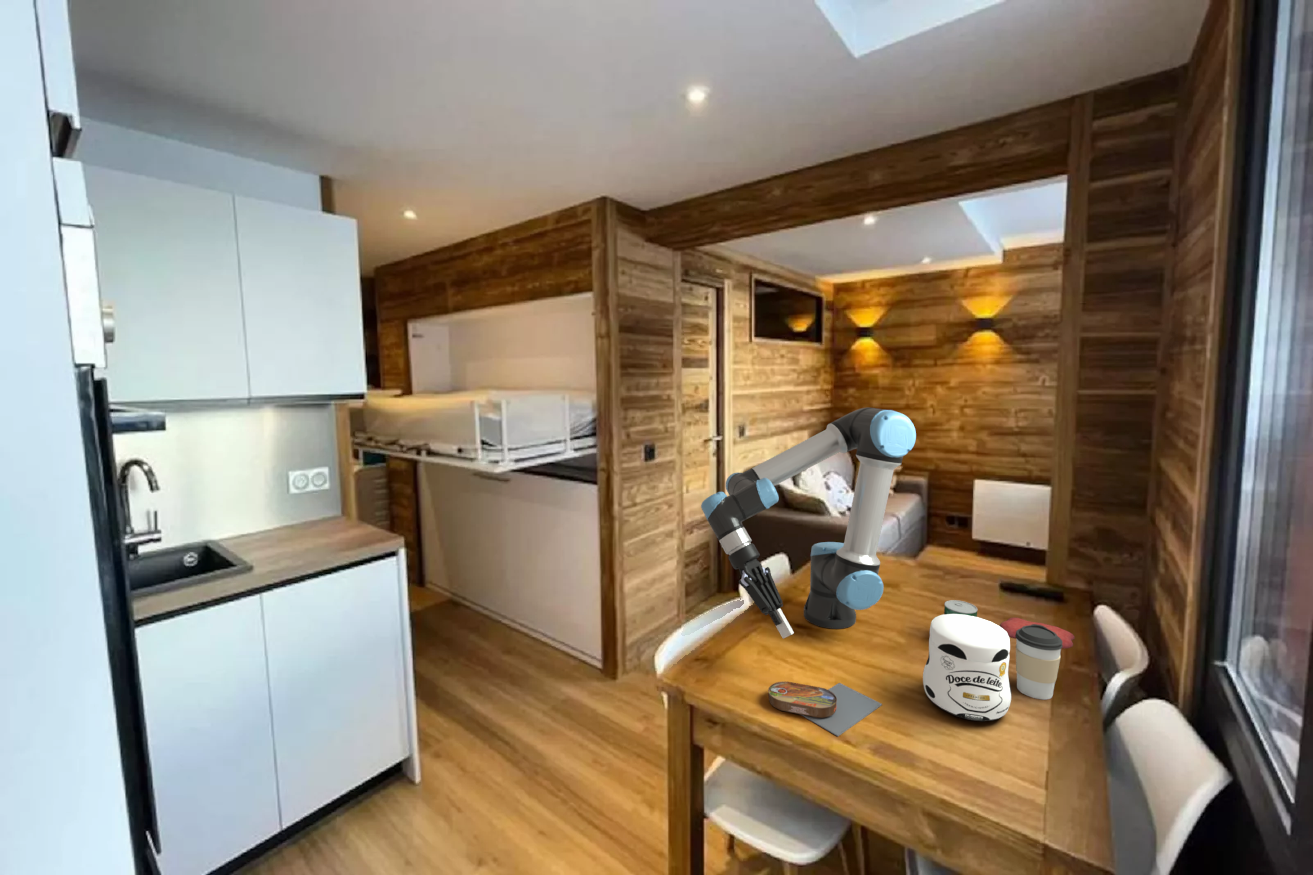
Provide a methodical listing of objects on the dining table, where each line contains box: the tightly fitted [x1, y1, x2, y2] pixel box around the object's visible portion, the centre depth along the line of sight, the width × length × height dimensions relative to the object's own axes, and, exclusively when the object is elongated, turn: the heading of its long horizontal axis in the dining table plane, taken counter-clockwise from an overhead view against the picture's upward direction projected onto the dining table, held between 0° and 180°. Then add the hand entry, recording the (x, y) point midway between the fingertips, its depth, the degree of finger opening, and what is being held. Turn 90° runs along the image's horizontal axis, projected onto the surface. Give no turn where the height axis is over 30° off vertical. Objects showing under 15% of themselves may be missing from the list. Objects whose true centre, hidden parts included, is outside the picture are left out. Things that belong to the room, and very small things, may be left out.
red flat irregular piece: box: [999, 617, 1075, 649], centre depth 158 cm, size 18×14×2 cm
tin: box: [767, 681, 837, 718], centre depth 126 cm, size 15×3×8 cm
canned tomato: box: [943, 599, 978, 617], centre depth 152 cm, size 8×8×11 cm
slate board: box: [799, 682, 883, 737], centre depth 125 cm, size 11×17×1 cm, turn 128°
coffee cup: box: [1015, 624, 1063, 700], centre depth 130 cm, size 9×9×15 cm
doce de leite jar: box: [922, 613, 1012, 722], centre depth 125 cm, size 17×17×18 cm
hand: (788, 635), depth 136 cm, fingers closed
